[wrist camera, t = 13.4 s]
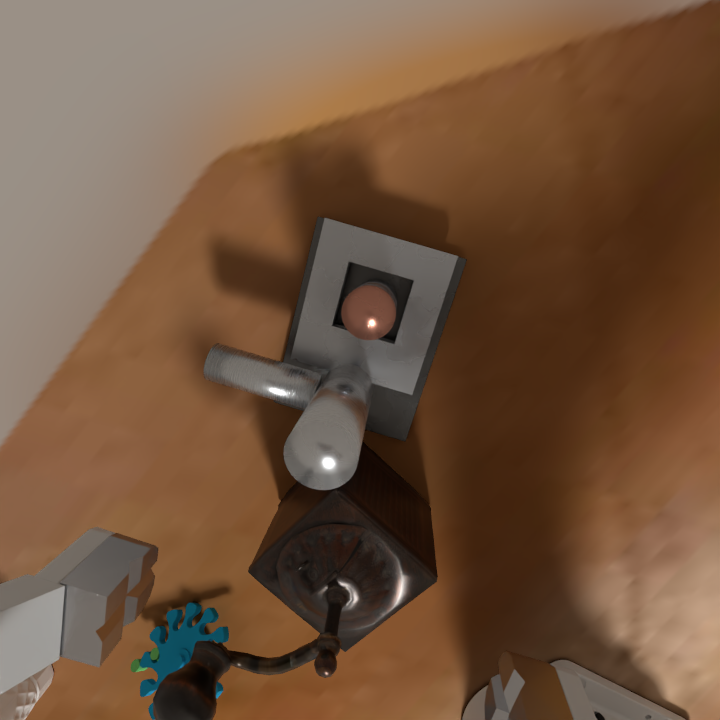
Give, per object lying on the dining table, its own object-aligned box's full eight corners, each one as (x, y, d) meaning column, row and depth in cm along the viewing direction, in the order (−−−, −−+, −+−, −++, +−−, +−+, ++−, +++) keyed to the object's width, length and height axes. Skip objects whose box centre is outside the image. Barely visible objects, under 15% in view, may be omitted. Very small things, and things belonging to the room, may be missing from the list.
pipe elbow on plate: (465, 259, 33) (512, 264, 19) (405, 437, 38) (407, 550, 23) (271, 203, 34) (176, 167, 20) (233, 386, 38) (132, 466, 24)
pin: (402, 284, 34) (402, 294, 26) (390, 325, 35) (387, 346, 27) (361, 273, 34) (349, 279, 26) (350, 314, 35) (335, 331, 27)
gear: (230, 602, 42) (212, 734, 37) (261, 603, 47) (248, 720, 42) (141, 602, 45) (112, 724, 40) (178, 603, 50) (157, 712, 45)
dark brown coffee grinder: (346, 425, 38) (298, 571, 21) (433, 505, 39) (458, 707, 22) (240, 528, 42) (124, 724, 24) (322, 598, 43) (268, 834, 26)
